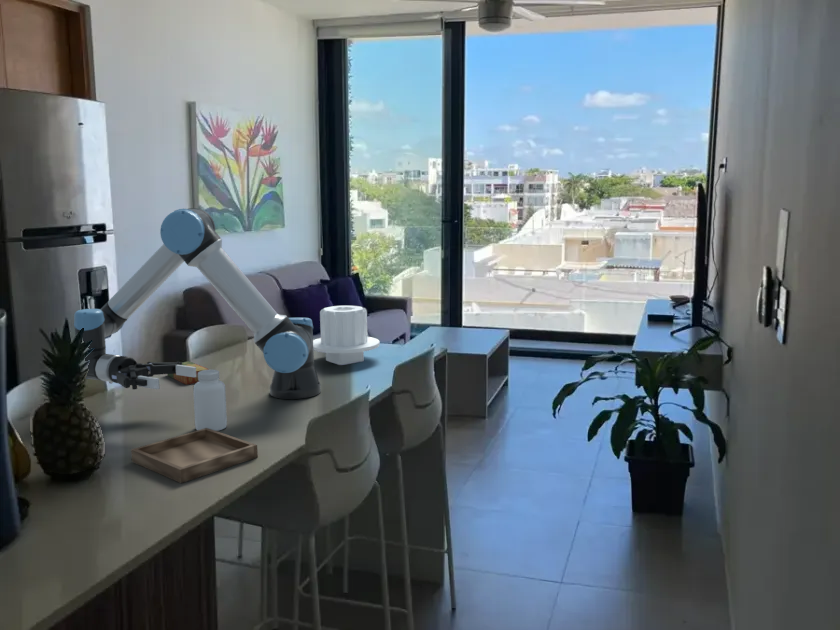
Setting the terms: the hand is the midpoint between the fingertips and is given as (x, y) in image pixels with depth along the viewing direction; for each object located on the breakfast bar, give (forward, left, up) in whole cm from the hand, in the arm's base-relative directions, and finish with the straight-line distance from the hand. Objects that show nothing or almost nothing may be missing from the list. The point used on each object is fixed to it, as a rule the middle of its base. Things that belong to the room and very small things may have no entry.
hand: (177, 377), depth 199 cm
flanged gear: (-78, -18, -13) cm, 81 cm away
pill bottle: (-3, +10, -13) cm, 16 cm away
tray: (+13, +27, -12) cm, 32 cm away
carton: (-29, -41, -13) cm, 52 cm away
